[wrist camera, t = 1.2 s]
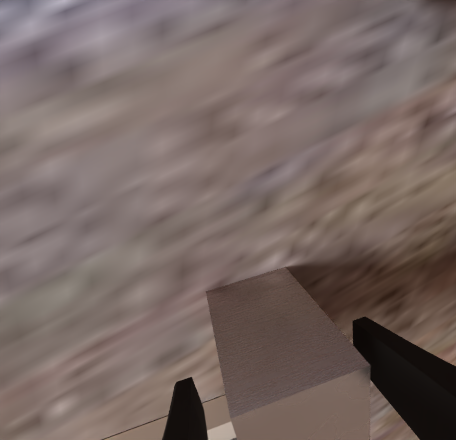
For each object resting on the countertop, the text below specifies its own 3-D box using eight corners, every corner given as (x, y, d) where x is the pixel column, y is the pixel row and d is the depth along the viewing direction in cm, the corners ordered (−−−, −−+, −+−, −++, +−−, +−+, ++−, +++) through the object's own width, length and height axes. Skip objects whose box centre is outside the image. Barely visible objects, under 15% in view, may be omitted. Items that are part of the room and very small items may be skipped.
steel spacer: (224, 352, 14) (256, 497, 8) (205, 291, 12) (230, 418, 7) (293, 328, 14) (369, 449, 9) (285, 266, 13) (370, 365, 7)
